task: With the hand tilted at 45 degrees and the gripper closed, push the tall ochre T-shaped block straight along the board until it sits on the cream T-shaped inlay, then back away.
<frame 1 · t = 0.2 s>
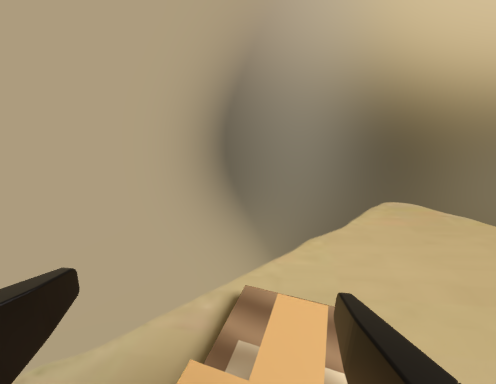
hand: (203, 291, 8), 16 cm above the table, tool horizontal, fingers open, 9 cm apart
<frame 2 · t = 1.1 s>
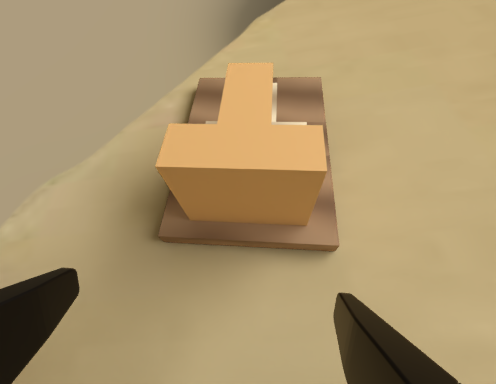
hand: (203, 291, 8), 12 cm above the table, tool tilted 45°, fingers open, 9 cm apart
board: (254, 152, 27), on the table
t block: (251, 174, 24), point 1 cm above the table, touching board
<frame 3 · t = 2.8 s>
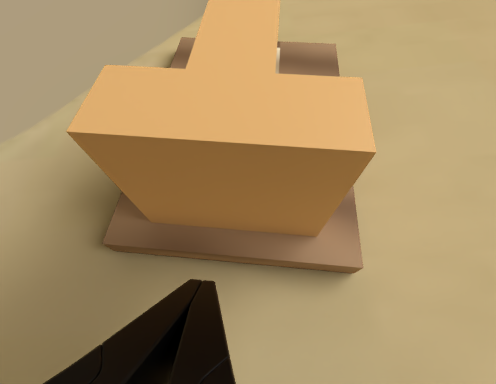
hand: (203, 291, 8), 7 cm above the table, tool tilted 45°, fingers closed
board: (247, 133, 21), on the table
t block: (241, 161, 17), point 1 cm above the table, touching board
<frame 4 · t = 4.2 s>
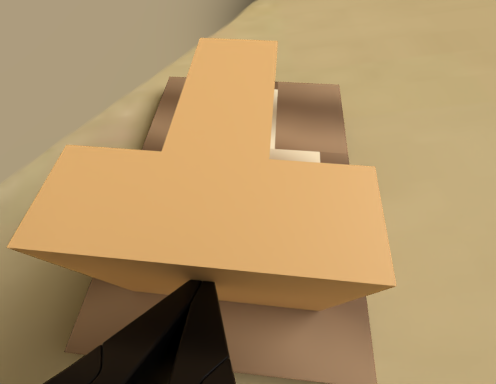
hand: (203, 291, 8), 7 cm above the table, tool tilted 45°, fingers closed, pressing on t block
board: (240, 192, 18), on the table
t block: (235, 214, 16), point 2 cm above the table, touching gripper
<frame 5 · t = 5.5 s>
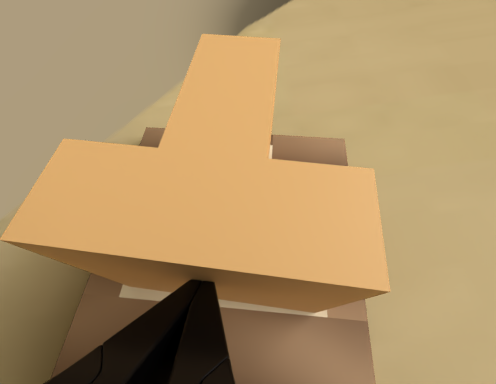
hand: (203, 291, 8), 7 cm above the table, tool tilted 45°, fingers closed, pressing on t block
board: (227, 281, 15), on the table
t block: (234, 213, 16), point 2 cm above the table, touching gripper
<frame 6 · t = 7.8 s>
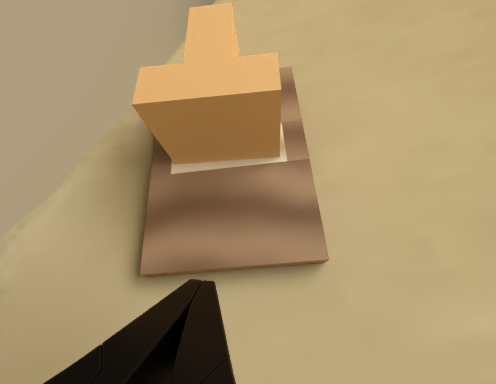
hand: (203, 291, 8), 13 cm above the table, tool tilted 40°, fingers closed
board: (230, 162, 25), on the table
t block: (227, 118, 26), point 1 cm above the table, touching board
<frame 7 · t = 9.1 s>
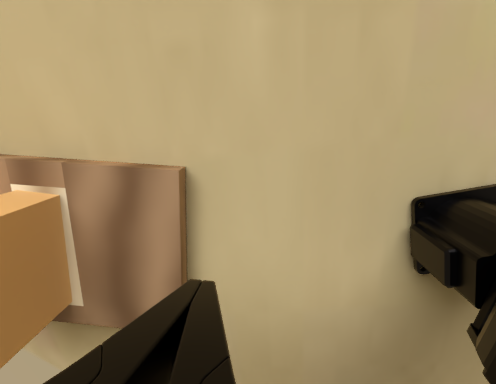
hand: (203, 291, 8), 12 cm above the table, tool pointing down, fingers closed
board: (71, 241, 22), on the table
t block: (9, 244, 21), point 1 cm above the table, touching board
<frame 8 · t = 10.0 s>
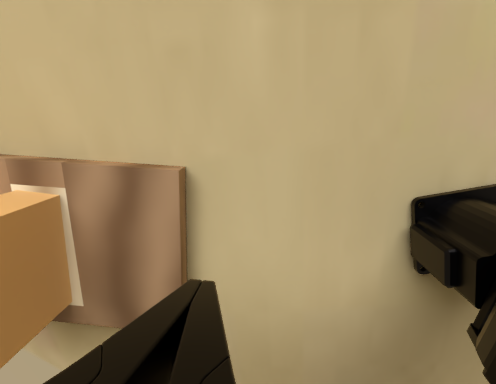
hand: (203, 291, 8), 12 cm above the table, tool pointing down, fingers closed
board: (71, 241, 22), on the table
t block: (9, 244, 21), point 1 cm above the table, touching board
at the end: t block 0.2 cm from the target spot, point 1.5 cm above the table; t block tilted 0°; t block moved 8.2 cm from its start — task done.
